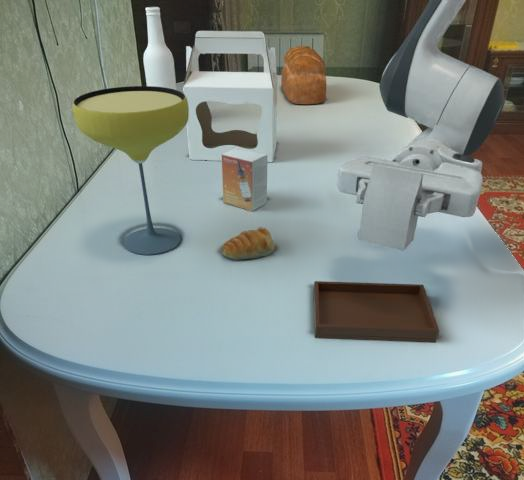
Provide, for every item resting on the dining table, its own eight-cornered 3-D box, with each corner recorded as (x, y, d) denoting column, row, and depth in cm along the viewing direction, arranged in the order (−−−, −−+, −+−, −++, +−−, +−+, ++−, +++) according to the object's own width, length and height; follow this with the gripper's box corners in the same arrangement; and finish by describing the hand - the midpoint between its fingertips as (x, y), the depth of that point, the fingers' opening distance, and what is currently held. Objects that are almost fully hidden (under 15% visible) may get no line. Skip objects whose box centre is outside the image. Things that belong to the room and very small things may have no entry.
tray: (420, 295, 81) (423, 284, 80) (436, 342, 72) (439, 330, 71) (313, 292, 82) (314, 280, 81) (314, 337, 73) (315, 326, 71)
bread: (315, 87, 196) (317, 41, 186) (327, 104, 176) (331, 53, 166) (279, 88, 195) (280, 42, 185) (288, 105, 175) (289, 54, 165)
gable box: (188, 160, 132) (176, 34, 114) (198, 144, 142) (188, 26, 124) (273, 162, 130) (275, 35, 112) (277, 146, 140) (279, 27, 123)
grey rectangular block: (403, 250, 70) (417, 179, 63) (358, 238, 72) (367, 168, 66) (413, 240, 72) (427, 170, 66) (369, 228, 75) (379, 160, 68)
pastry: (232, 266, 89) (231, 247, 86) (215, 251, 93) (214, 232, 91) (277, 253, 92) (278, 234, 90) (259, 239, 97) (259, 220, 94)
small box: (222, 203, 110) (220, 154, 103) (238, 195, 114) (236, 146, 107) (252, 212, 106) (252, 161, 100) (267, 203, 110) (267, 153, 103)
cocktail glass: (216, 248, 94) (206, 102, 78) (123, 275, 86) (91, 119, 71) (175, 213, 106) (160, 81, 90) (90, 234, 98) (57, 94, 83)
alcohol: (157, 127, 155) (142, 9, 136) (147, 120, 161) (132, 6, 142) (183, 123, 158) (173, 8, 139) (173, 116, 164) (161, 5, 145)
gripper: (358, 141, 79) (321, 168, 70) (494, 162, 71) (473, 196, 62) (353, 180, 83) (318, 211, 74) (482, 205, 75) (460, 243, 66)
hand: (390, 204), depth 68 cm, fingers closed on grey rectangular block, 7 cm apart
